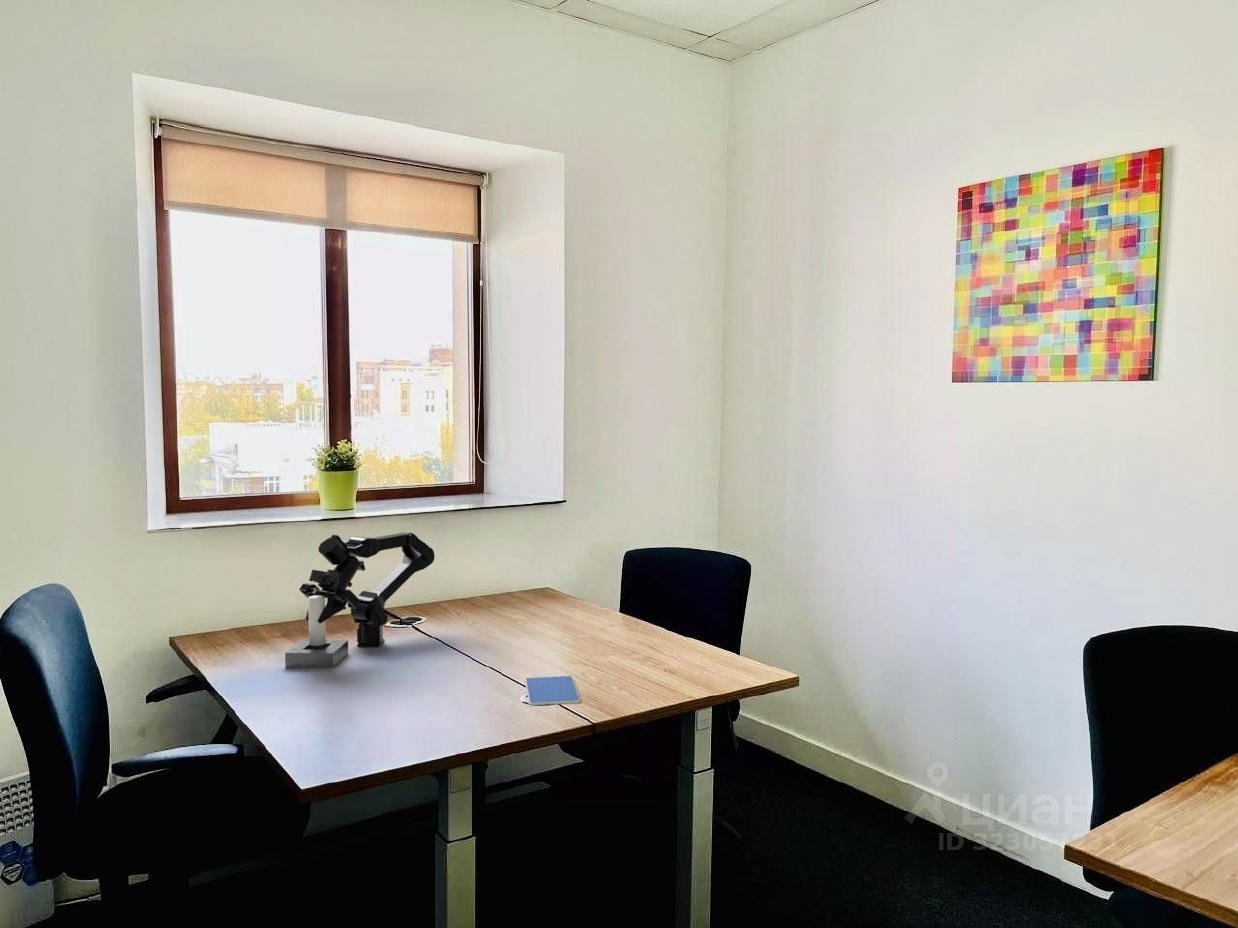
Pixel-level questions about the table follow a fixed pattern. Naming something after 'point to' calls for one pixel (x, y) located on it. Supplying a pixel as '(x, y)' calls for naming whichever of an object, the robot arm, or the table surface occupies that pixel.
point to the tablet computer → (551, 690)
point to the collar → (316, 654)
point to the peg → (316, 620)
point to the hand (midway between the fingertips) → (312, 621)
